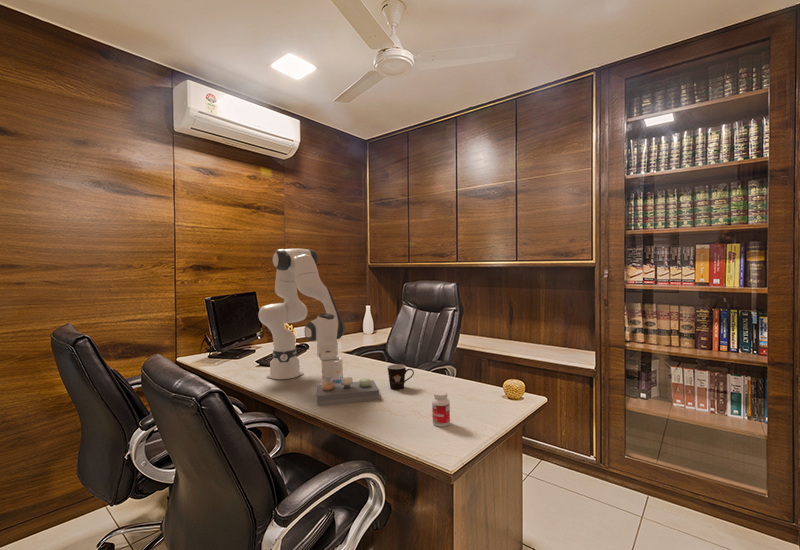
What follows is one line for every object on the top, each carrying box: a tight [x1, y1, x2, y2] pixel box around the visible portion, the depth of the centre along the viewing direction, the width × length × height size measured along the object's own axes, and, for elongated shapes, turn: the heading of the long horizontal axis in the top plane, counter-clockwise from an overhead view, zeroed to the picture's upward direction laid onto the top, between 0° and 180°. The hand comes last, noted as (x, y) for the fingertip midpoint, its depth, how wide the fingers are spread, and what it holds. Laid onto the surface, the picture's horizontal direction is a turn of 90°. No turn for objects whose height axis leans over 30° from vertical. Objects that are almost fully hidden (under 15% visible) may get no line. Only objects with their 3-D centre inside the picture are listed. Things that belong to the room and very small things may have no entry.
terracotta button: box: [321, 382, 334, 391], centre depth 161 cm, size 5×5×4 cm
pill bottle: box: [431, 390, 451, 428], centre depth 132 cm, size 6×6×11 cm
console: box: [316, 379, 380, 407], centre depth 163 cm, size 15×26×4 cm, turn 103°
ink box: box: [321, 356, 344, 385], centre depth 184 cm, size 9×8×13 cm
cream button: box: [341, 376, 354, 389], centre depth 163 cm, size 5×5×4 cm
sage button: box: [358, 378, 371, 387], centre depth 165 cm, size 5×5×4 cm
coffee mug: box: [387, 363, 415, 391], centre depth 173 cm, size 12×9×10 cm
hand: (328, 383), depth 161 cm, fingers closed
